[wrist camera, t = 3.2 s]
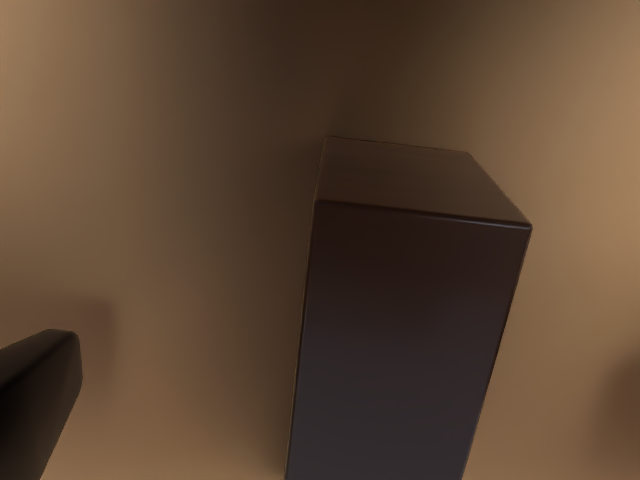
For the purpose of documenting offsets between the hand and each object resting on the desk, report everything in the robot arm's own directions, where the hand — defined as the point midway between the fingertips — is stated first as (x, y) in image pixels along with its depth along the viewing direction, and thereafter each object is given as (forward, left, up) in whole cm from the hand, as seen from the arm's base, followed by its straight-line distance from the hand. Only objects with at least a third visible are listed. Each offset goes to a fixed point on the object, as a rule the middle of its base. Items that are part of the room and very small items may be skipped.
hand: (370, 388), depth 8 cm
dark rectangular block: (0, 0, -1) cm, 1 cm away
